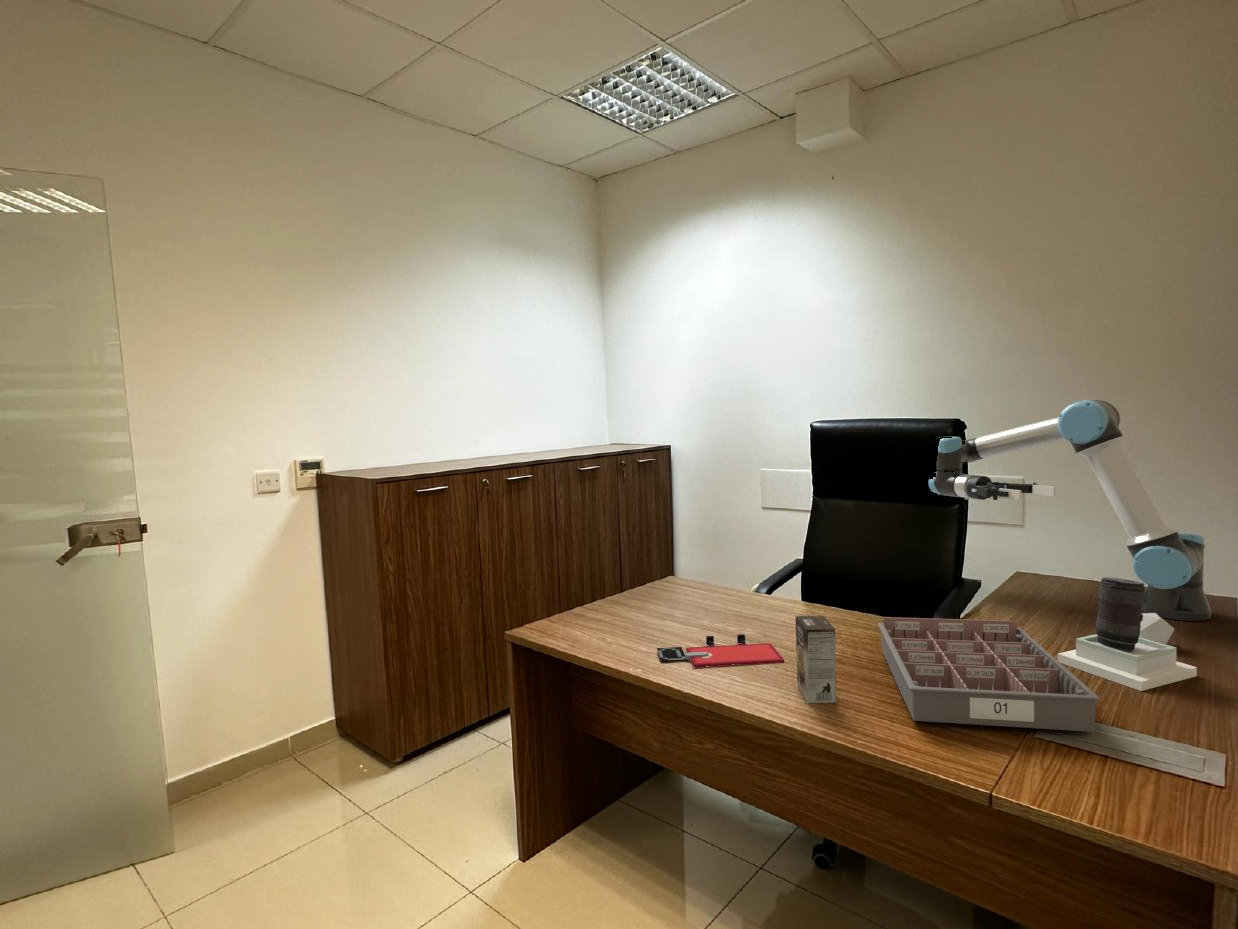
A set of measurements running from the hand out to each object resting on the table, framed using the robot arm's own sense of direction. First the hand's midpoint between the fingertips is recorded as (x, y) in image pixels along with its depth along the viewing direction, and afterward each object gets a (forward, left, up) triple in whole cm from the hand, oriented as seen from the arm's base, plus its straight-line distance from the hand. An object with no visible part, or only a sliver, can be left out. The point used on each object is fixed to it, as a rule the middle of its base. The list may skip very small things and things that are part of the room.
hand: (1037, 493), depth 186 cm
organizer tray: (+59, +31, -35) cm, 75 cm away
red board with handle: (+98, -11, -36) cm, 105 cm away
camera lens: (+22, +36, -30) cm, 52 cm away
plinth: (+20, +36, -35) cm, 54 cm away
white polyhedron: (0, +29, -35) cm, 46 cm away
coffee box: (+90, +19, -35) cm, 98 cm away
